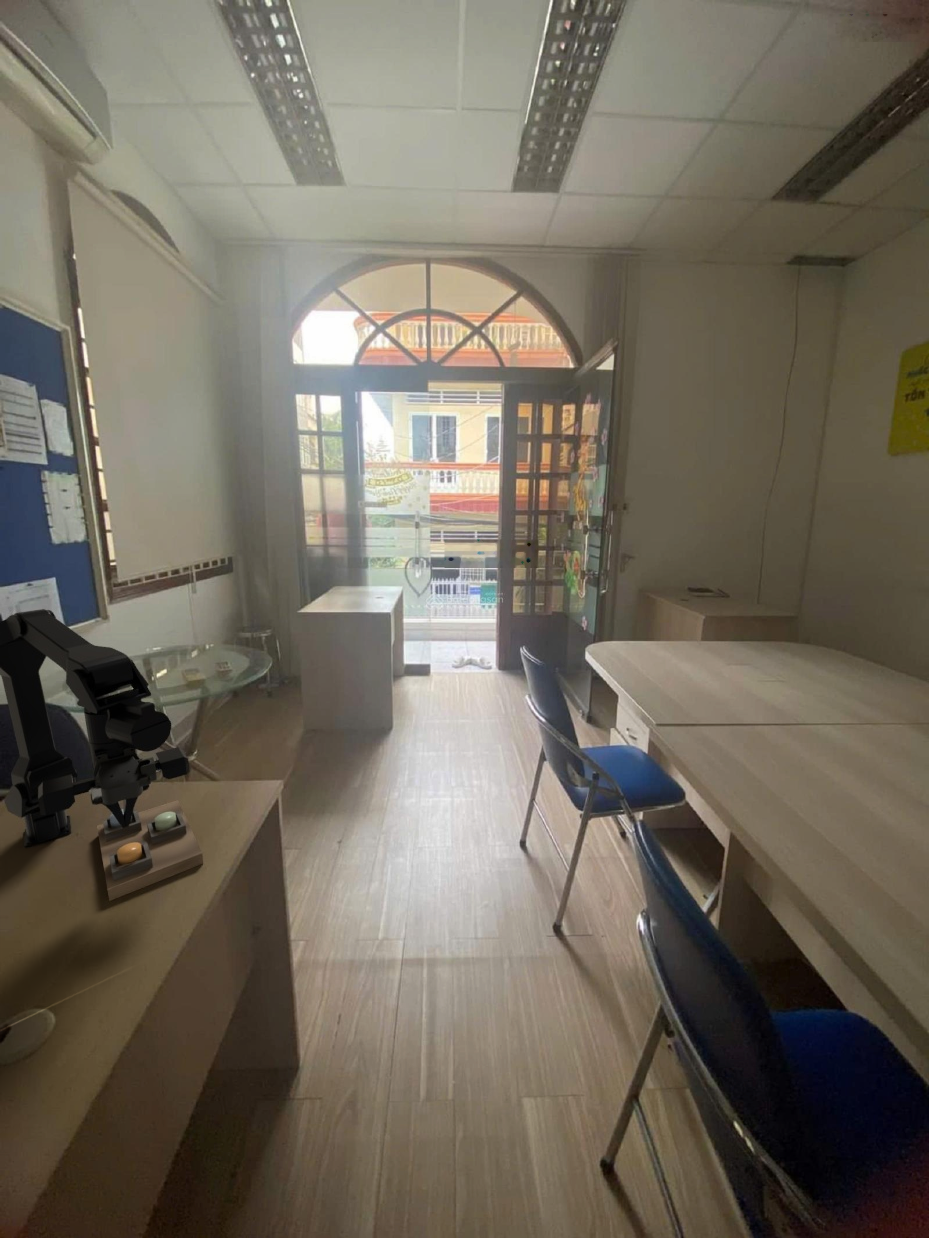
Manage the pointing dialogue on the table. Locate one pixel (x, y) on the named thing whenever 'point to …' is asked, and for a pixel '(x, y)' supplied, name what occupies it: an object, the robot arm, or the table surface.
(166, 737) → the robot arm
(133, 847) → the orange button
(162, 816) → the sage button
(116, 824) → the slate blue button
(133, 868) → the console
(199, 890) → the table surface
